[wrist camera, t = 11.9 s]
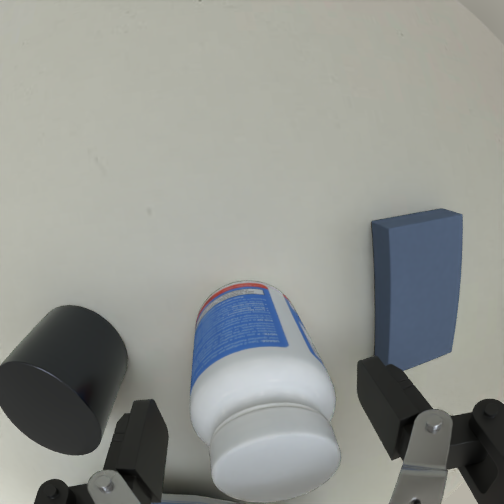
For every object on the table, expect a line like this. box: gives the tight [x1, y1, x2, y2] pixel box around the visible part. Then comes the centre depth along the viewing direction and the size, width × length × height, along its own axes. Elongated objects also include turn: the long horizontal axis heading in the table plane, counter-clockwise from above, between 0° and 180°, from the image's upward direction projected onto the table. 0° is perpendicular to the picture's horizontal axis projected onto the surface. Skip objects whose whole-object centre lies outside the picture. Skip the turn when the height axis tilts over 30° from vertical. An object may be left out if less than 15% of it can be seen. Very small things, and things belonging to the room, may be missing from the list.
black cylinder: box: [0, 305, 128, 455], centre depth 14 cm, size 6×6×6 cm
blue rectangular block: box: [372, 209, 463, 371], centre depth 17 cm, size 9×5×2 cm, turn 10°
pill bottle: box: [190, 281, 341, 503], centre depth 13 cm, size 6×5×10 cm
